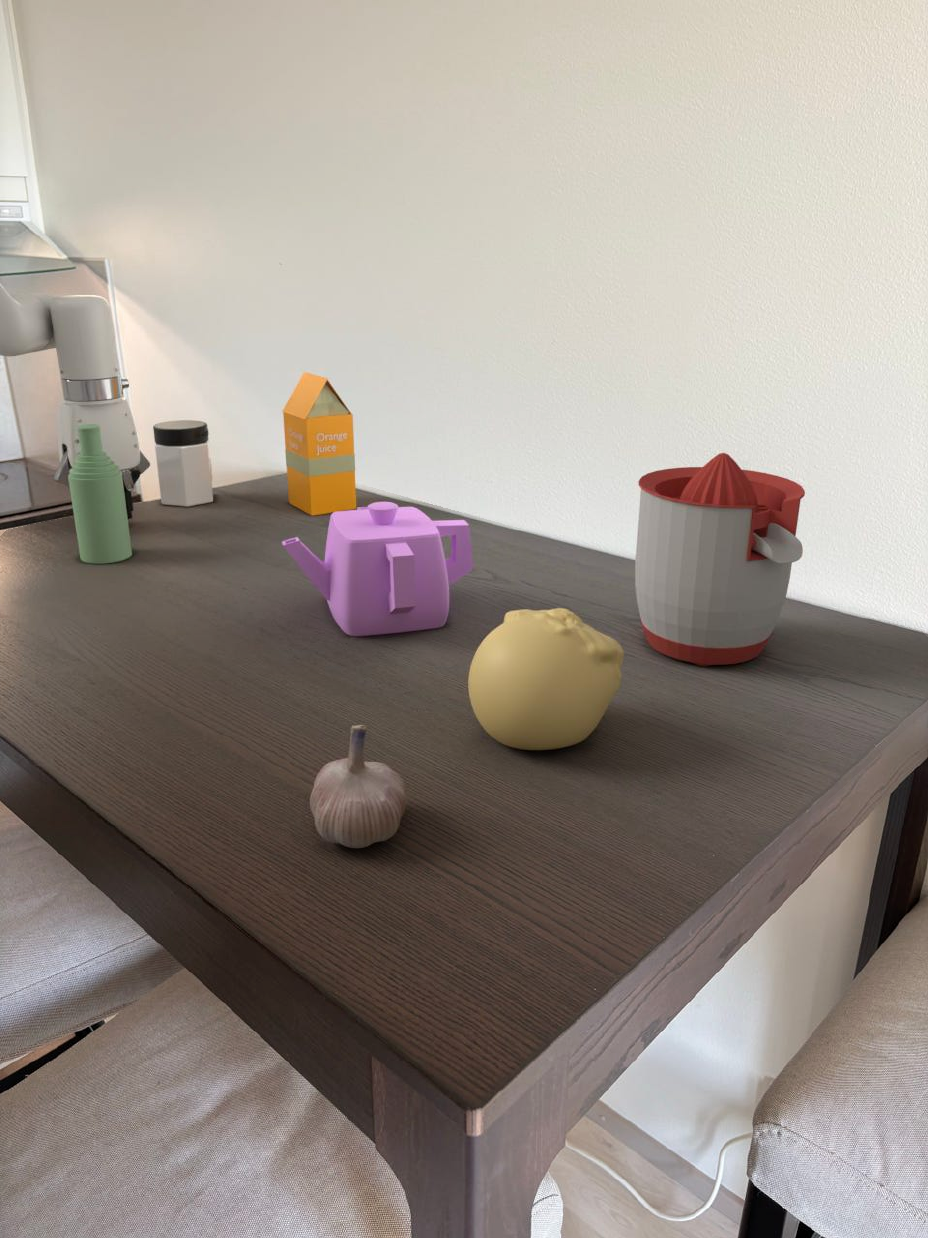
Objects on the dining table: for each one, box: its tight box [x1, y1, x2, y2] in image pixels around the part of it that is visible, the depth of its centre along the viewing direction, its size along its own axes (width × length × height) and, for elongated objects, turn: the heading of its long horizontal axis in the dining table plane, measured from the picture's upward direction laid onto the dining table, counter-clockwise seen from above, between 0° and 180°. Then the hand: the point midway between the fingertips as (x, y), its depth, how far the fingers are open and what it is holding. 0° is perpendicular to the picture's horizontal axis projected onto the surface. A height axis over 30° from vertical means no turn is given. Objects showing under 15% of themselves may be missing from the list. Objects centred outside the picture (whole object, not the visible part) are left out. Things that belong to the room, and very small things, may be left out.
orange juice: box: [281, 371, 357, 516], centre depth 146 cm, size 8×9×20 cm
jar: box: [152, 419, 214, 508], centre depth 150 cm, size 9×8×12 cm
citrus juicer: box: [634, 452, 806, 667], centre depth 94 cm, size 16×17×20 cm
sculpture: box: [467, 607, 625, 751], centre depth 79 cm, size 12×12×11 cm
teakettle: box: [281, 501, 474, 637], centre depth 105 cm, size 17×17×12 cm
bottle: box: [68, 424, 133, 565], centre depth 122 cm, size 6×6×17 cm
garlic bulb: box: [309, 724, 407, 849], centre depth 66 cm, size 8×7×8 cm
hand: (110, 519), depth 137 cm, fingers closed on cap, 3 cm apart
